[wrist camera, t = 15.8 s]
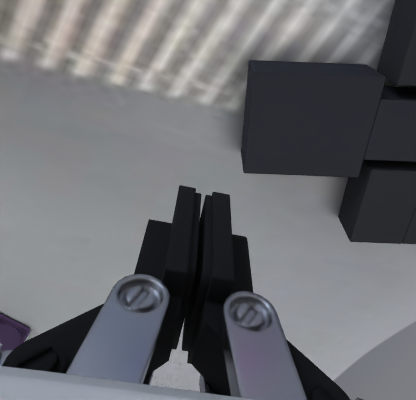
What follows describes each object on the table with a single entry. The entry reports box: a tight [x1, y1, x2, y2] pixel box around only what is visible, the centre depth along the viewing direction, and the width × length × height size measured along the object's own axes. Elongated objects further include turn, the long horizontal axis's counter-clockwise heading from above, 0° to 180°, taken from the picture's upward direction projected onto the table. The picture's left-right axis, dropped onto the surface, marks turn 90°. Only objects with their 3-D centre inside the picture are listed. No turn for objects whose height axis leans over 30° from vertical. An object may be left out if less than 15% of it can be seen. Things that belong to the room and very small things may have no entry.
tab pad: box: [241, 60, 416, 177], centre depth 22 cm, size 6×10×3 cm, turn 88°
